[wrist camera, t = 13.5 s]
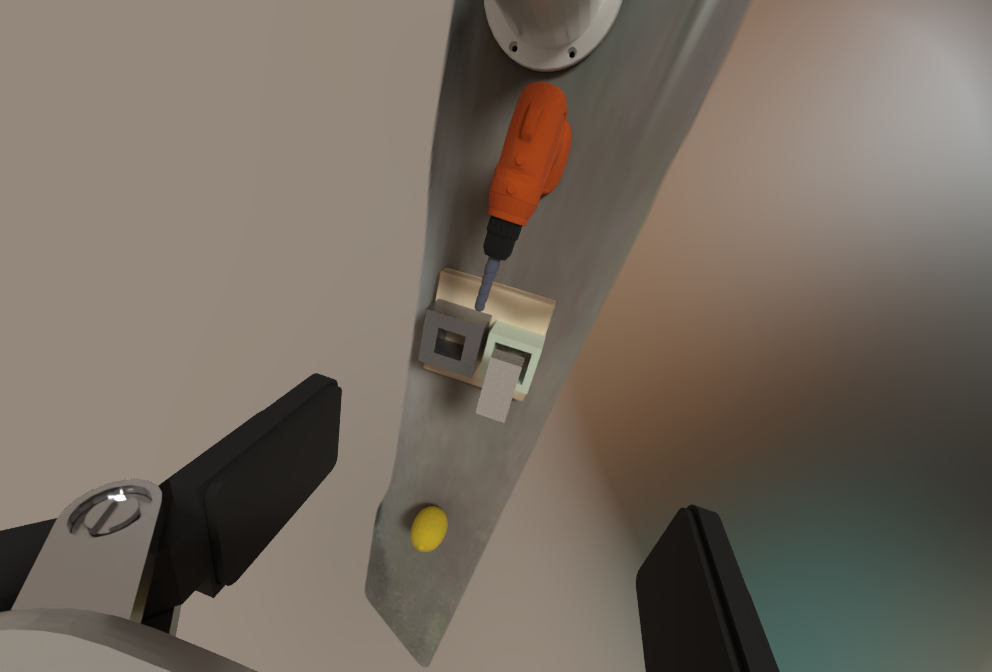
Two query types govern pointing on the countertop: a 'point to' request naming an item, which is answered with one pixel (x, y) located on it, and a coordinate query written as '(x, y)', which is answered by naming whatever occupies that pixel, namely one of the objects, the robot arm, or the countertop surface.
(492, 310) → the board
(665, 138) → the countertop surface
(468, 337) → the block
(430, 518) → the lemon
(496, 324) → the pale green hollow frame
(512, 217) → the toy drill
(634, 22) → the countertop surface
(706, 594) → the robot arm
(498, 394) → the light grey block
